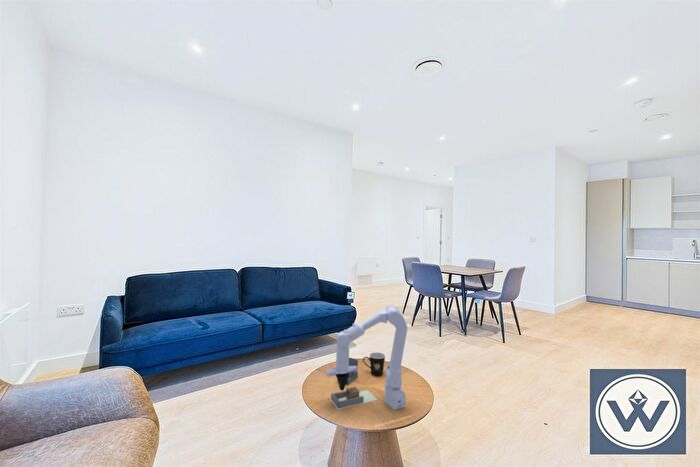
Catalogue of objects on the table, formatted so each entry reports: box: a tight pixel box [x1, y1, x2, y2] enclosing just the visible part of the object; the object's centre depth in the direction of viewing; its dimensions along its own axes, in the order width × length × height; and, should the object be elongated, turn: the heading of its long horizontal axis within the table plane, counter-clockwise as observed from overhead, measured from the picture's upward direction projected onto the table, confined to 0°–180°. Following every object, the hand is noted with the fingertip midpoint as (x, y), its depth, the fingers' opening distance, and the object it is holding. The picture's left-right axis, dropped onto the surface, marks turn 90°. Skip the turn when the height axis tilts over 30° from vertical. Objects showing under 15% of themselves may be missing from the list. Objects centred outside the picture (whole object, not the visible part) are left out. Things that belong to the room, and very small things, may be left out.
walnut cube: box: [345, 386, 360, 399], centre depth 138 cm, size 4×4×4 cm
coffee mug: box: [362, 352, 386, 377], centre depth 167 cm, size 12×9×10 cm
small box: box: [345, 357, 359, 386], centre depth 157 cm, size 11×6×10 cm, turn 149°
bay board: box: [329, 389, 378, 410], centre depth 138 cm, size 9×20×4 cm, turn 116°
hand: (341, 389), depth 136 cm, fingers closed
